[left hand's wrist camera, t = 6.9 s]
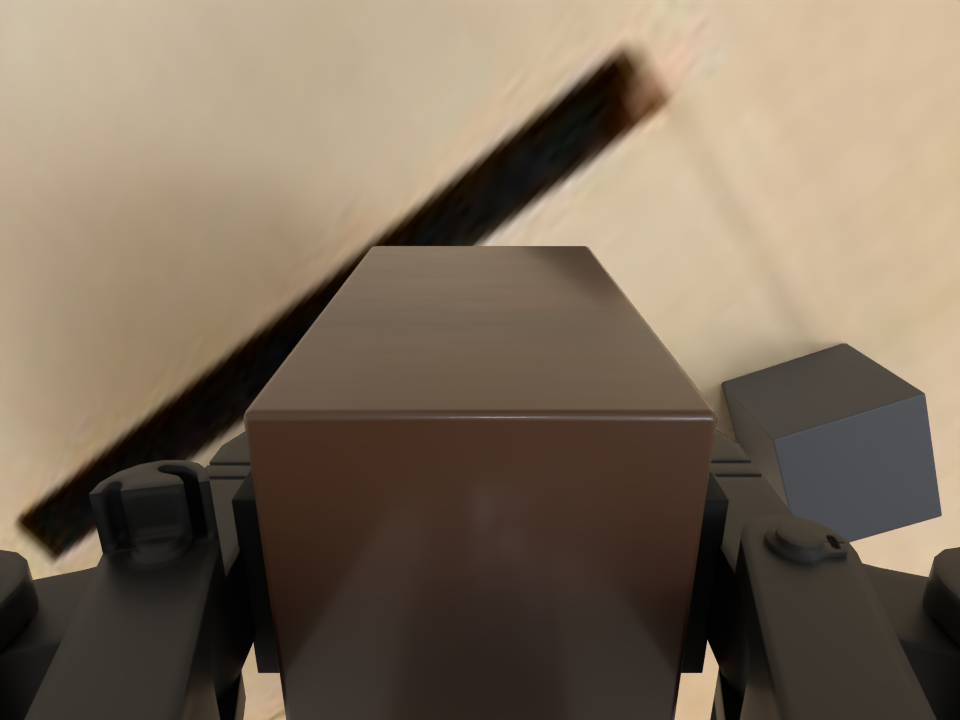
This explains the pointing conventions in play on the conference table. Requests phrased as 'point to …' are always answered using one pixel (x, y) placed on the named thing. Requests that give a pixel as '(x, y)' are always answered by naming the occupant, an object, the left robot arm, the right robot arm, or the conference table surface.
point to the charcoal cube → (839, 441)
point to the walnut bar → (480, 494)
